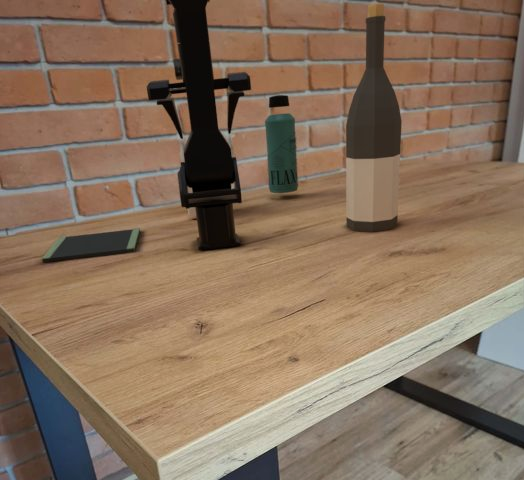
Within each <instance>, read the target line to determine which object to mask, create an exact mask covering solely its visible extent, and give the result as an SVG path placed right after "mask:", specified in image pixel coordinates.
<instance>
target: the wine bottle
mask: <svg viewBox="0 0 524 480" xmlns="http://www.w3.org/2000/svg"><path fill="white" fill-rule="evenodd" d="M384 8H385V5H384V3H372V4H371V3H370V4H369V5H368V6H367V17H366V18H365V24H366V26H365V70H364V72H363V74H362V77H361V79H360V81H359V82H358V85H357V87H356V89H355V91H354V94H353V96H352V100H351V103H350V106H349V109H348V113H347V119H346V122H345V123H346V124H345V177H346V178H345V184H346V185H345V186H346V188H345V189H346V190H345V191H346V192H345V197H346V198H345V200H346V201H345V203H346V207H345V208H346V210H345V211H346V213H345V214H346V216H345V217H346V227H347V228H349V229H351V230H352V231H354V232H355V231H357V232H369V233H370V232H372V233H373V232H381V231H387V230H392V229H393V228H394V227H396V226H397V225H398V220H399V219H398V218H399V217H398V216H399V198H400V197H399V196H400V174H401V173H400V169H401V168H400V167H401V147H402V146H401V145H402V125H403V124H402V123H403V122H402V121H403V120H402V115H401V109H400V105H399V102H398V97H397V95H396V92H395V89H394V87H393V86H392V82H391V80H390V79H389V77H388V75H387V73H386V70H385V68H384V67H385V66H384V63H385V62H384V61H385V60H384V58H385V22H386V16H385V15H384V12H385V11H384V10H385V9H384Z"/></svg>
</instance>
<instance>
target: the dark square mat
mask: <svg viewBox="0 0 524 480" xmlns="http://www.w3.org/2000/svg"><path fill="white" fill-rule="evenodd" d="M140 234H141V227H137V228H132V229H123V230H115V231H107V232H96V233H88V234H78V235H69V236H66V235H65V236H60V237H59V238H58V239H57V240H56V241H55V242H54V244H53V245H51V247H50V248H49V250H47V252H46V253H45V254H44V255H43V256H42V258H41V260H42V263H51V262H59V261H67V260H68V261H69V260H77V259H78V260H79V259H85V258H86V259H87V258H95V257H103V256H110V255H111V256H112V255H121V254H128V253H129V254H130V253H135V252H136V249H137V246H138V242H139V238H140Z"/></svg>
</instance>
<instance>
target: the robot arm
mask: <svg viewBox="0 0 524 480" xmlns="http://www.w3.org/2000/svg"><path fill="white" fill-rule="evenodd" d="M210 2H211V0H165V3H166V6H172V8H173V12H172V17H173V24H174V30H175V31H174V32H175V37H176V44H177V45H176V46H177V50H178V56H179V57H178V58H176V59H173V60H172V61H173V70H174V76H175V80H177V81H180V80H182V81H180V82H172V83H171V82H170V79H160V80H150V81H149V82H148V84H147V85H146V92H147V98H148V101H156V105H157V106H162V107H163V108H164V110H165V112H166V113H167V114H168V117H169V118H170V119H171V122H172V123H173V125H174V128H175V130H176V132H177V134H178V136H179V138H180V140H183V139H184V135H183V128H182V125H181V121H180V117H179V114H178V110H177V107H176V101H175V98H174V97H172V96H173V95H179V94H186V101H187V109H188V117H189V123H190V132H189V135H188V137H187V140H186V142H185V145H184V148H183V157H184V158H183V159H184V160H183V161H181V162H180V166H179V170H178V172H177V173H176V174H177V182H178V190H179V191H178V192H179V198H180V207H181V208H185V209H186V210H188V209H189V208H192V207H195V210H196V218H195V219H196V224H197V232H198V237H196V245H197V250H198V251H206V250H214V249H221V248H229V247H230V248H231V247H238V246H241V245H242V244H241V239H240V238H239V236H238V233H236V225H235V215H234V206H233V205H234V204H242V203H243V200H242V199H243V198H242V189H241V182H240V175H239V168H238V161H237V157H236V156H233V154H232V148H231V145H230V143H229V142H228V140H227V139H226V137H225V136H224V134H223V133H222V132H221V130H220V129H219V124H218V123H219V121H218V120H219V119H218V111H217V102H216V94H215V91H216V90H217V91H218V90H226V89H227V92H226V95H227V97H226V99H227V101H226V102H227V104H226V105H227V107H226V109H227V110H226V111H227V115H226V116H227V117H226V120H227V121H226V123H227V124H226V125H227V134H229V135H231V133H232V127H233V123H234V118H235V117H234V116H235V112H236V109H237V107H238V103H239V100H240V98H241V97H245V92H247V91H252V84H251V83H252V82H251V76H250V75H249V74H248V73H247V72H245V71H240V72H229V73H226V77H222V78H221V77H220V78H215V77H214V76H215V75H214V68H213V60H212V51H211V42H210V35H209V26H208V18H207V17H208V16H207V9H206V8H207V5H208V3H210ZM232 184H233V185H234V188H232ZM188 187H189V188H192V192H193V193H188Z"/></svg>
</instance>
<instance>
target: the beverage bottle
mask: <svg viewBox="0 0 524 480" xmlns="http://www.w3.org/2000/svg"><path fill="white" fill-rule="evenodd" d="M289 100H290V98H289V96H288V95H284V94H277V95H272V96H269V98H268V108H270V109H271V108H273V109H274V108H282V107H283V108H285V107H290V101H289ZM264 125H265V138H266V154H267V155H266V156H267V159H266V160H267V166H266V167H267V177H268V180H267V181H268V183H267V184H268V189H269V192H270V193H272V194H286V193H293V192H296V191H298V188H299V179H298V171H299V170H298V168H299V167H298V158H297V147H298V146H297V135H296V134H297V133H296V117H294V116H293V115H292V114H291V113H290V112H289V113H277V114H276V113H275V114H269V115H268V116H267V117H266V119H265V120H264Z"/></svg>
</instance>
